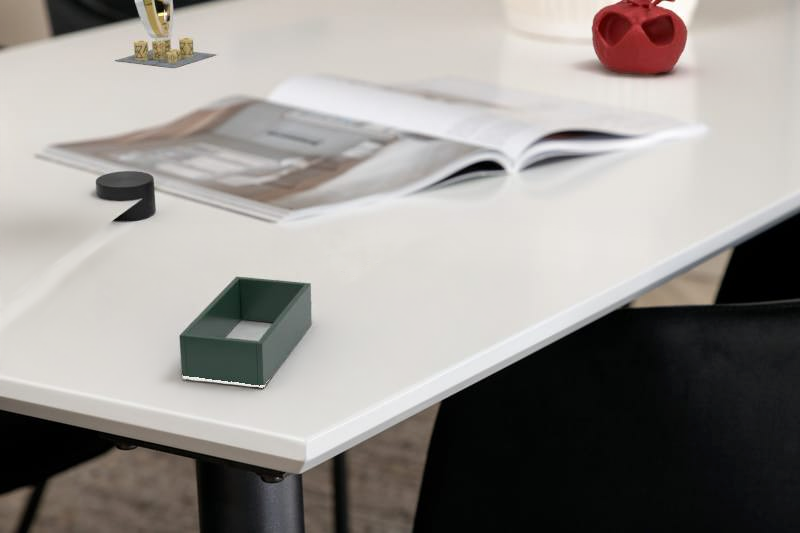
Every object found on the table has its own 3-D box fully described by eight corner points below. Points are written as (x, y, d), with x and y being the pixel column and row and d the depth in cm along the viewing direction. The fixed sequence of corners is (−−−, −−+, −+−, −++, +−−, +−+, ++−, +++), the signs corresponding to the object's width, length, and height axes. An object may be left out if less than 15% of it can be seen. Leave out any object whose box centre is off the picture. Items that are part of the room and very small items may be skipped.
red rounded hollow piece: (599, 57, 142) (605, -28, 138) (690, 63, 138) (697, -23, 135) (580, 74, 133) (585, -15, 129) (676, 82, 130) (684, -10, 126)
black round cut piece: (88, 219, 88) (85, 185, 87) (113, 202, 92) (110, 168, 91) (141, 223, 87) (139, 189, 86) (164, 206, 91) (162, 172, 90)
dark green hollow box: (181, 379, 65) (179, 335, 64) (238, 316, 72) (236, 276, 71) (263, 389, 64) (262, 343, 63) (311, 324, 71) (310, 283, 70)
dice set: (132, 59, 139) (131, 42, 138) (160, 51, 143) (159, 34, 142) (169, 64, 136) (168, 46, 136) (197, 55, 141) (196, 38, 140)
